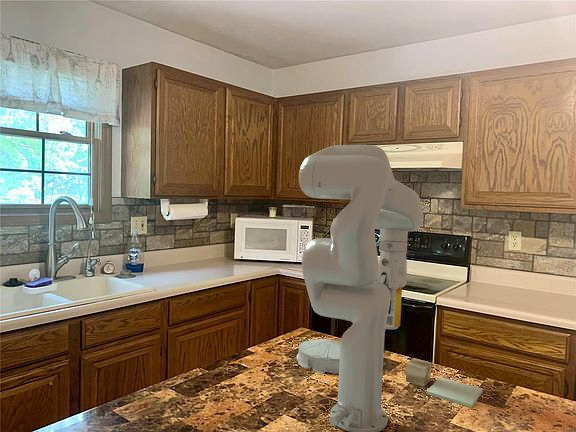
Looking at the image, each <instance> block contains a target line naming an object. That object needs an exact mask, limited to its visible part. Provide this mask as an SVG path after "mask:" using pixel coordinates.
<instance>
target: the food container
mask: <svg viewBox="0 0 576 432" xmlns="http://www.w3.org/2000/svg"><path fill="white" fill-rule="evenodd" d="M340 341H341V340H336V339H335V340H334V339H326V338H315V339H310V340H309V339H308V340H304V341H301V342H300V344H299V345H298V353H297V354H296V361H297V362H298V364H299V365H300V366H301V367H302V368H303V369H307V370H308V369H309V370H310V369H312V371H313V372H314V373H318V374H325V372H327V373H331V374H338V375H339V361H340Z"/></svg>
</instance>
